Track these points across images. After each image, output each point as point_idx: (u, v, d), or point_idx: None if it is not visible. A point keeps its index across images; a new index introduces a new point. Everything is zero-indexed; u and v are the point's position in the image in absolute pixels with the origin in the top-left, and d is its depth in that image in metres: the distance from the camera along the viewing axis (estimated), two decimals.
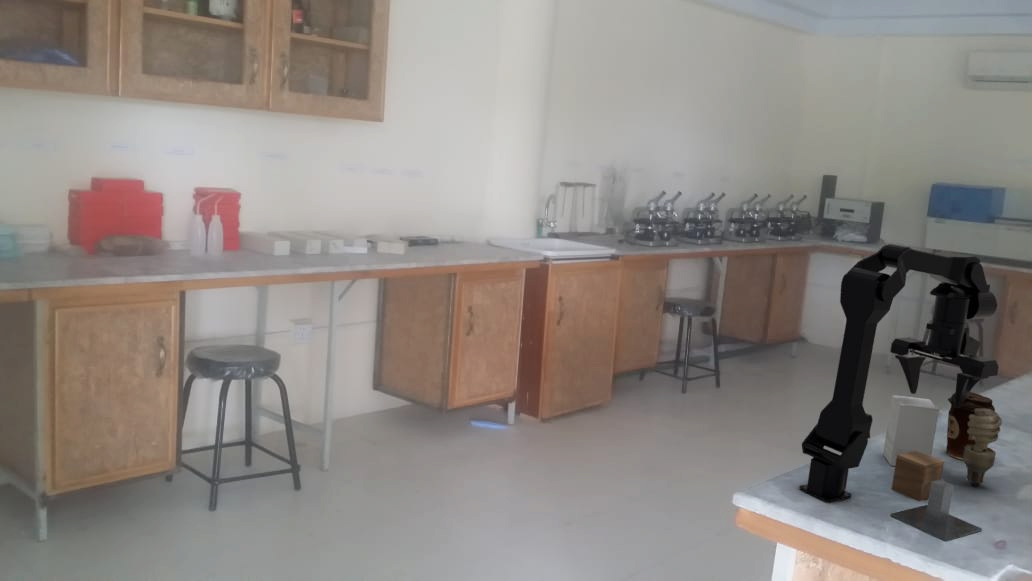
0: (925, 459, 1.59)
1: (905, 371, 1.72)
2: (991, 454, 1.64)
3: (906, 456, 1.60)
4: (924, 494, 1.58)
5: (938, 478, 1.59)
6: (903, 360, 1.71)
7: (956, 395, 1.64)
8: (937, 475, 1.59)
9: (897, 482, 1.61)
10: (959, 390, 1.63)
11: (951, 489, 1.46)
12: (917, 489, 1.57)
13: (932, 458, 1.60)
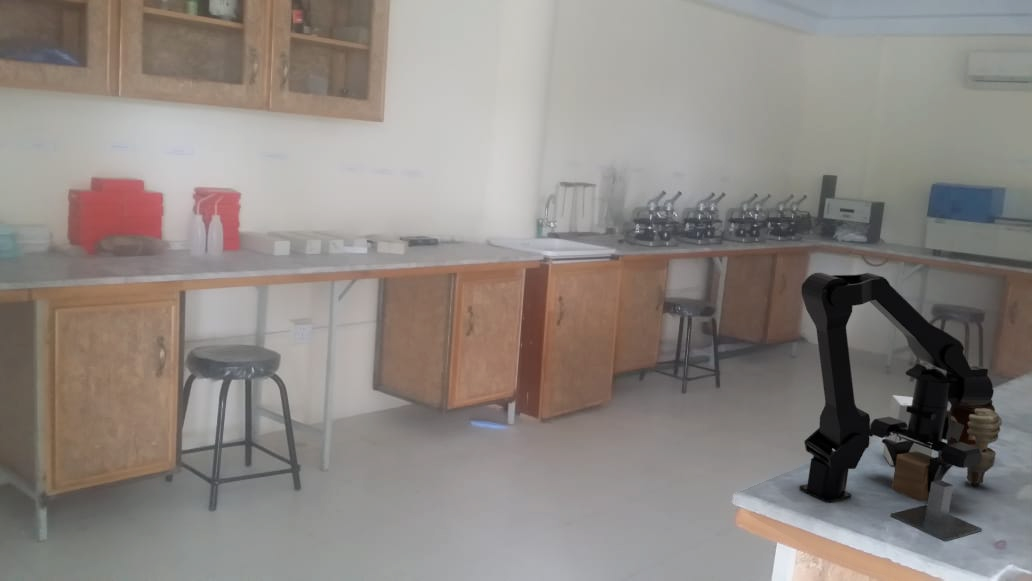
0: (925, 459, 1.59)
1: (892, 457, 1.62)
2: (991, 454, 1.64)
3: (906, 456, 1.60)
4: (924, 494, 1.58)
5: None
6: (890, 446, 1.62)
7: (929, 480, 1.57)
8: None
9: (897, 482, 1.61)
10: (932, 475, 1.56)
11: (951, 489, 1.46)
12: (917, 489, 1.57)
13: None
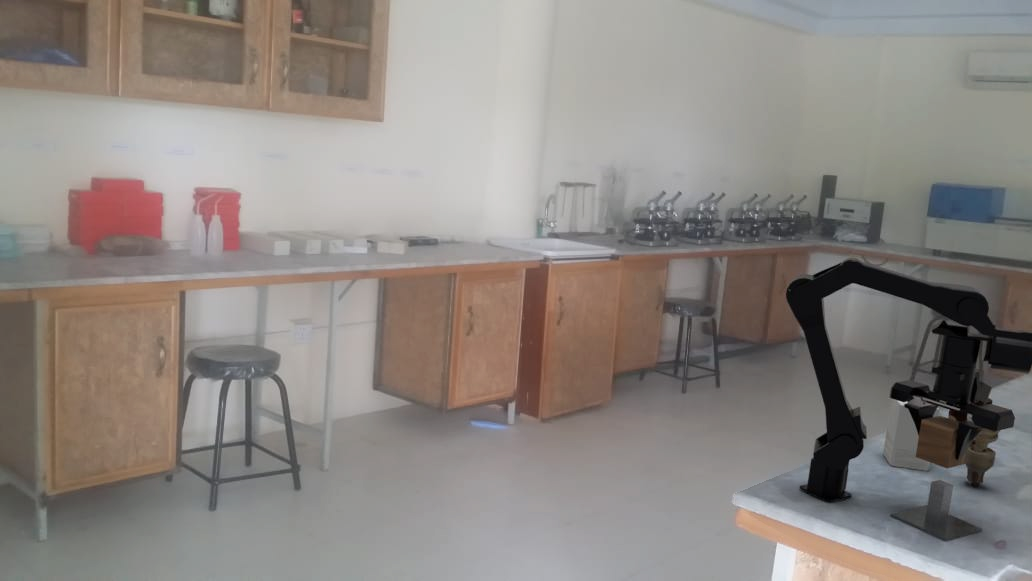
0: (952, 424, 1.48)
1: (916, 423, 1.51)
2: (991, 454, 1.64)
3: (931, 421, 1.48)
4: (952, 461, 1.46)
5: None
6: (914, 410, 1.50)
7: (957, 446, 1.45)
8: None
9: (922, 449, 1.49)
10: (961, 441, 1.44)
11: (951, 489, 1.46)
12: (945, 456, 1.46)
13: None
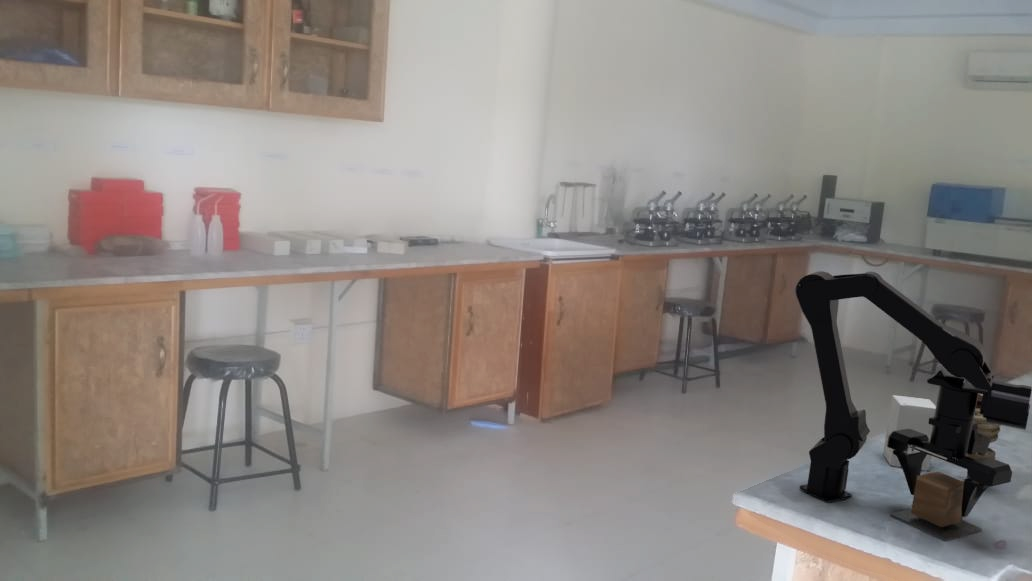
0: (948, 481, 1.46)
1: (904, 470, 1.50)
2: (991, 454, 1.64)
3: (927, 478, 1.47)
4: (947, 519, 1.44)
5: None
6: (902, 457, 1.50)
7: (963, 503, 1.42)
8: (961, 498, 1.45)
9: (917, 506, 1.48)
10: (966, 498, 1.41)
11: None
12: (939, 514, 1.44)
13: (955, 480, 1.47)
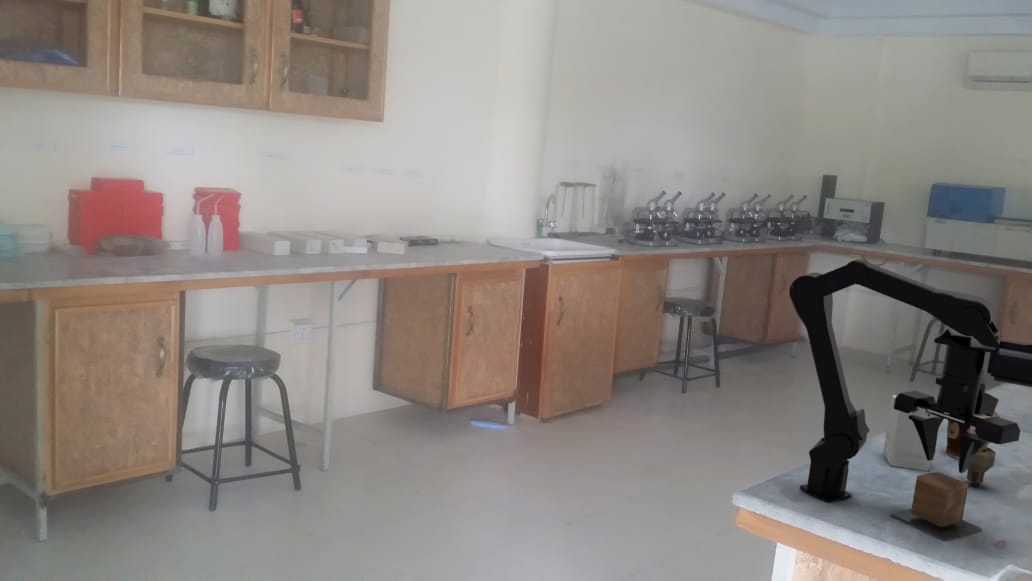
0: (948, 481, 1.46)
1: (920, 435, 1.47)
2: (991, 454, 1.64)
3: (927, 478, 1.47)
4: (947, 519, 1.44)
5: (962, 502, 1.46)
6: (918, 422, 1.47)
7: (960, 459, 1.42)
8: (961, 498, 1.45)
9: (917, 506, 1.48)
10: (963, 453, 1.41)
11: None
12: (939, 514, 1.44)
13: (955, 480, 1.47)
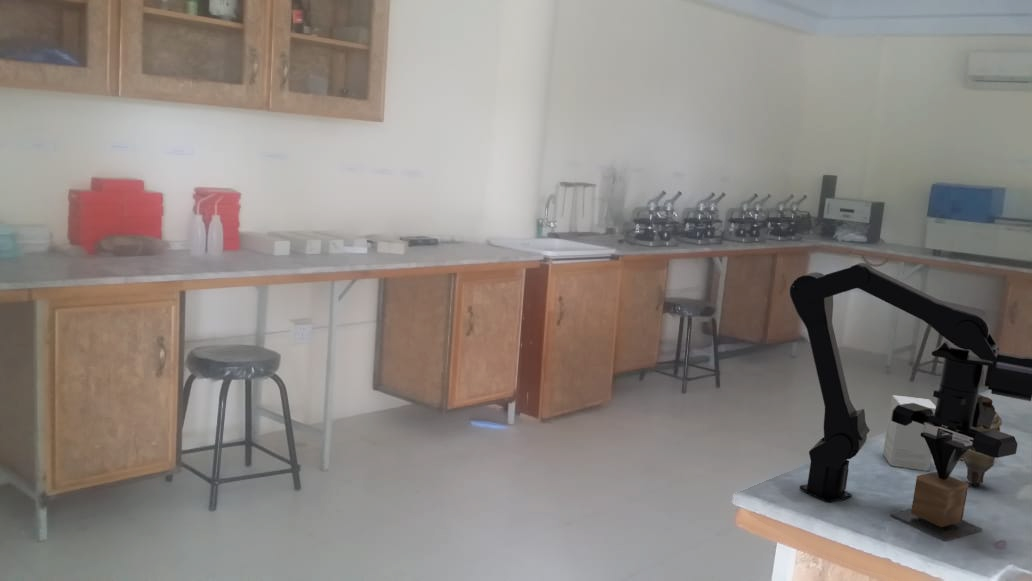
0: (948, 481, 1.46)
1: (932, 452, 1.46)
2: None
3: (927, 478, 1.47)
4: (947, 519, 1.44)
5: (962, 502, 1.46)
6: (930, 440, 1.45)
7: (942, 466, 1.45)
8: (961, 498, 1.45)
9: (917, 506, 1.48)
10: (946, 460, 1.44)
11: None
12: (939, 514, 1.44)
13: (955, 480, 1.47)
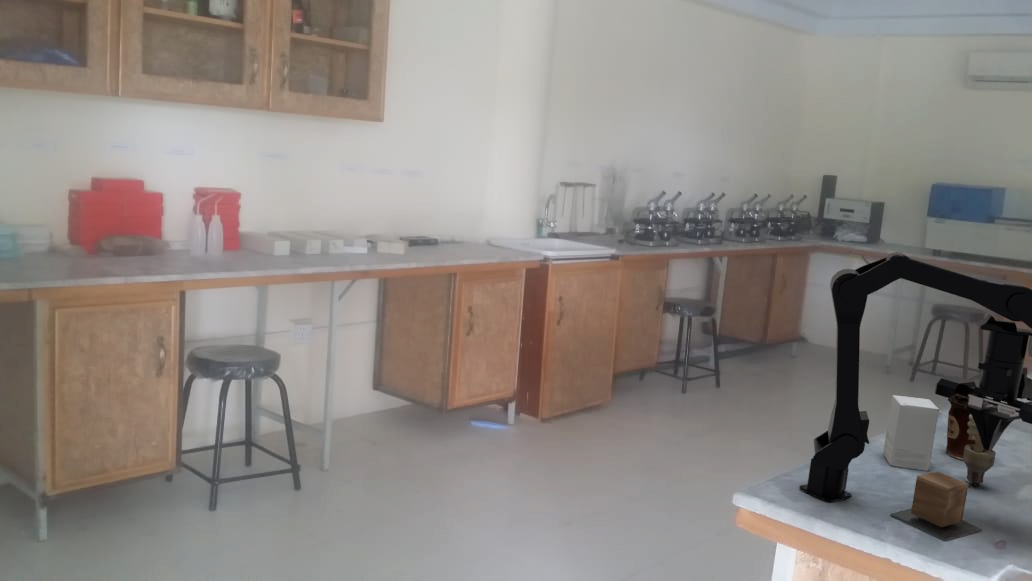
0: (948, 481, 1.46)
1: (977, 424, 1.47)
2: (991, 454, 1.64)
3: (927, 478, 1.47)
4: (947, 519, 1.44)
5: (962, 502, 1.46)
6: (975, 411, 1.47)
7: (987, 437, 1.47)
8: (961, 498, 1.45)
9: (917, 506, 1.48)
10: (991, 431, 1.46)
11: None
12: (939, 514, 1.44)
13: (955, 480, 1.47)
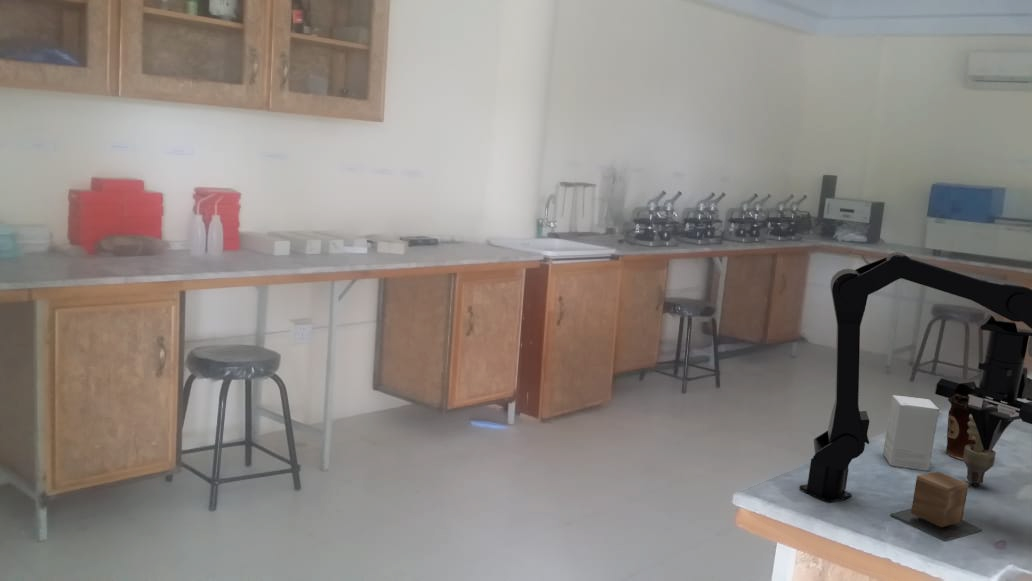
0: (948, 481, 1.46)
1: (977, 424, 1.47)
2: (991, 454, 1.64)
3: (927, 478, 1.47)
4: (947, 519, 1.44)
5: (962, 502, 1.46)
6: (975, 411, 1.47)
7: (987, 437, 1.47)
8: (961, 498, 1.45)
9: (917, 506, 1.48)
10: (991, 432, 1.46)
11: None
12: (939, 514, 1.44)
13: (955, 480, 1.47)
